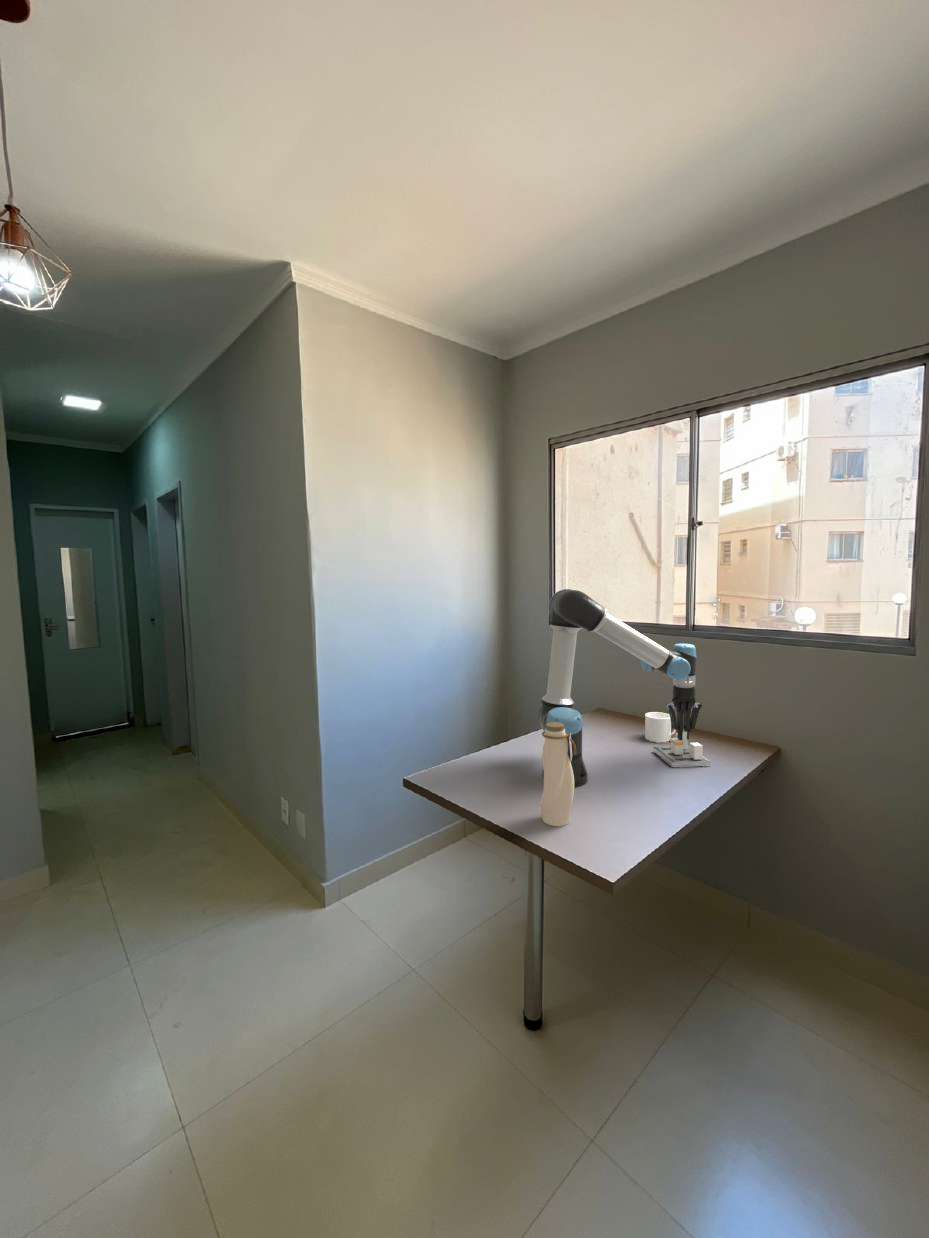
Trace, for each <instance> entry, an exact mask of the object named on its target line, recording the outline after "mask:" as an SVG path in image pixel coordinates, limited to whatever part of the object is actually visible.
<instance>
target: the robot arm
mask: <svg viewBox="0 0 929 1238" xmlns="http://www.w3.org/2000/svg"><path fill="white" fill-rule="evenodd" d="M548 608H549V613H550V618H549V627H551V629H552V640H551V641H552V642H551V649H550V650H551V651H550V659H549V668H548V669H549V670H548V679H547V687H546V688H547V689H546V694H544V695H543V696H542V698H541V705H540V706H539V708H538V712H537V722H538V725H539V726H540V728H541V729H542V730H543V731H542V732H544V731H545V729H546V724H547V723H549V722H560V723H563V724H564V729H565V732H566V733H567V734H568V736H569V737H570V732H571V739H572V740H573V742H574V743H575V746H576V755H574V746H573V744H572V742H571V745H572V760H571V757H570V743H569V739H568V738H567V737H566V738H567V741H568V756H569V759H570V762H571V765H572V769H573V774H574V788H577V787H581V786H583V785H586V783H587V782H588V781H589V780H588V775H589V774H588V770H587V768H586V764H585V761H584V758H583V726H584V725H583V724H584V722H583V717H582V714H581V713H580V712H579V711H578V710H576V709H574V704H575V701H574V700H573V699H572V697H571V692H572V683H573V675H574V674H573V672H574V664H575V656H576V647H577V639H578V638H577V637H578V632H579V631H581V630H583V629H584V630H585V631H587V632H589V633H593V632H595V634H597V635H599V636H601V637H603V638H605V639H606V640H608V641H609V642H612V643H613V644H615V645H616V646H618V648H621V649H622V650H624V651H626V652H628V653H629V654H631V655H632V656H634V657H636V658H637V659H639V660H640V661H639V663H640V666H641V669H642V670H643V671H645V672H651V673H652V672H658V673H659V674H661V675H664V676H666V677H669V678H670V679H672V699H671V702H670V703H666V704H665V707H666V708H667V710H668V714H669V715H670V720H671V729H673V730H674V729H675V730H676V731H677V732H676V733H677V738H678V739H679V740H682V741H683V749H687V739H688V740H689V739H690V733H691V731H693V730H694V729H696V724H697V720H698V717H699V712H700V710H701V708H702V707H703V705H702V704H701V703H699V702H697V701H696V698H695V697H696V687H695V686H696V668H697V667H696V665H697V664H696V663H697V648H696V646H695V645H694V644H691V643H675V644H674V645H673V648H672V649H667V648H665V647H663V646H662V645H660V644H659V643H657V642H655V641H654V640H652V639H651V638H649V637H647V636H645V635H644V634H642V633H640V632H639V631H638V630H636V629H635V628H632V627H631V626H629V625H628V624H626V623H625V622H624V621H621V620H620V619H618V618H616V617H615V616H613V615H611V614H610V613H608V612H607V611H608V610H607V608H606V607H604V606H602V605H601V604H600V603H598V602H597V601H596V600H594V599H592V597H590V596H589V595H588V594H586V593H585V592H582V591H581V590H576V589H575V590H574V589H570V588H564V589H560V590H558V591H556V592H555V593H554V594H553V595H552V596H551V598H550V600H549V602H548ZM675 708H676V711H675ZM542 779H543V780H544V768H543V770H542Z"/></svg>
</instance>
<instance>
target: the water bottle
mask: <svg viewBox="0 0 929 1238" xmlns="http://www.w3.org/2000/svg"><path fill="white" fill-rule="evenodd" d="M541 736H542V737H544V742H543V746H542V753H541V759H542V765H543V766H542V767H543V769H544V779H543V792H542V798H541V801H540V814H541V819H542V822H544V823H545V824H546V825H549V826H552V827H563V826H566V825H568V824H569V823H570V816H571V811H572V806H573V802H574V796H575V787H574V774H573V769H572V765H571V762H570V759H569V756H568V741H567V738H568V739H569V743H570V757H571V760H572V745H571V742H572V744H573V746H574V755H576V746H575V743H574V742H573V740H572V739H571V732H570V737H569V736H568V734H567V733H566V732H565V729H564V724H563V723H560V722H549V723H547V724H546V729H545V731H542V733H541ZM566 737H567V738H566Z"/></svg>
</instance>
